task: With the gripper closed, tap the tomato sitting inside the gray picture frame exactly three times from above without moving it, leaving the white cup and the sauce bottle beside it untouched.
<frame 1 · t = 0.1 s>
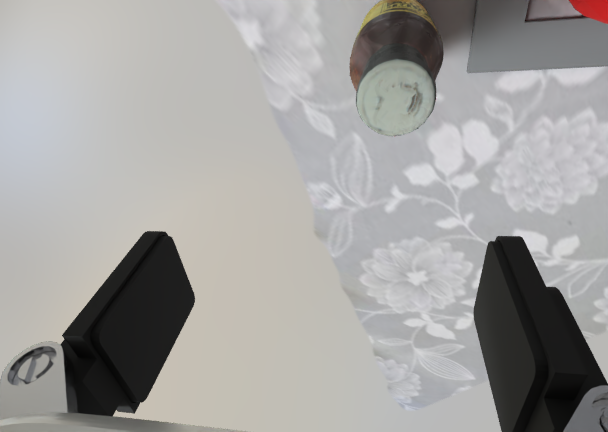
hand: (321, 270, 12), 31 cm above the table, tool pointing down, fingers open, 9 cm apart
sauce bottle: (392, 30, 36), on the table
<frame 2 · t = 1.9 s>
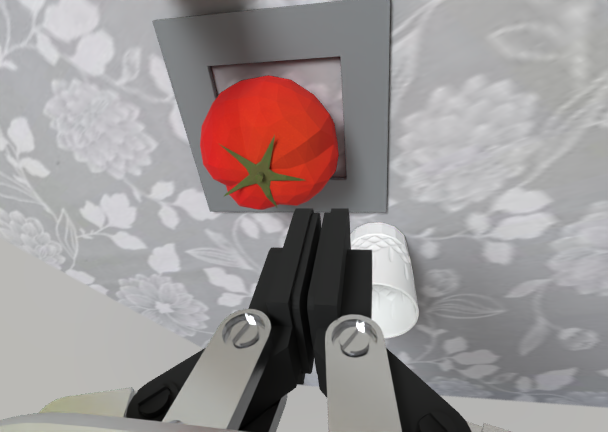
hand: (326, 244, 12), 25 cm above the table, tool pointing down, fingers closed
tomato: (283, 123, 37), resting in gray picture frame
gray picture frame: (282, 124, 37), on the table
white cup: (376, 243, 44), on the table
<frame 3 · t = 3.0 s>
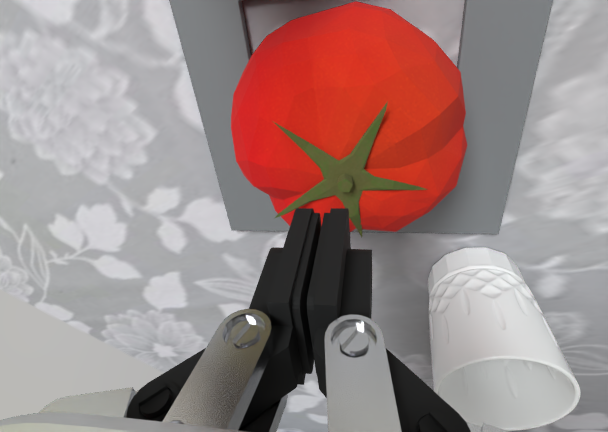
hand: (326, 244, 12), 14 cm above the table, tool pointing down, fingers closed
tomato: (352, 97, 24), resting in gray picture frame
gray picture frame: (352, 99, 24), on the table
white cup: (471, 276, 31), on the table
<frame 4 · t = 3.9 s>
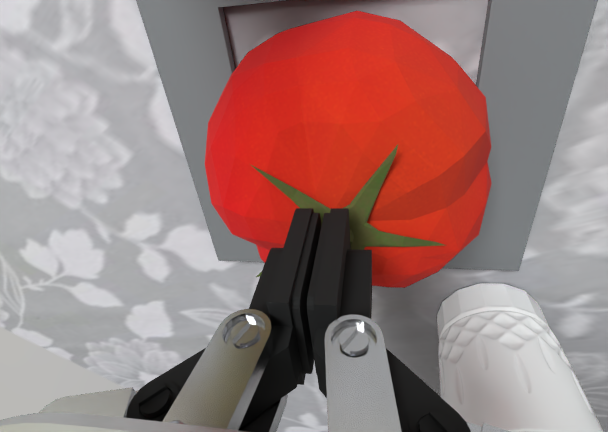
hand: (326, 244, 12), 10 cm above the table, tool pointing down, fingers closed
tomato: (352, 118, 21), resting in gray picture frame, touching gripper
gray picture frame: (352, 120, 21), on the table
white cup: (485, 312, 28), on the table
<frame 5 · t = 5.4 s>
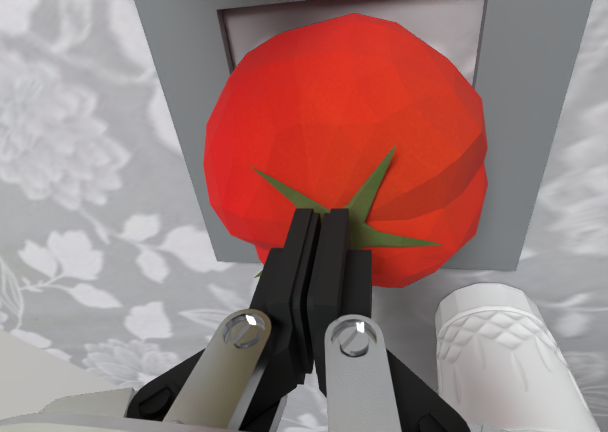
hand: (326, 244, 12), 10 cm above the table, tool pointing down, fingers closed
tomato: (350, 120, 21), resting in gray picture frame
gray picture frame: (350, 121, 21), on the table
white cup: (483, 312, 28), on the table
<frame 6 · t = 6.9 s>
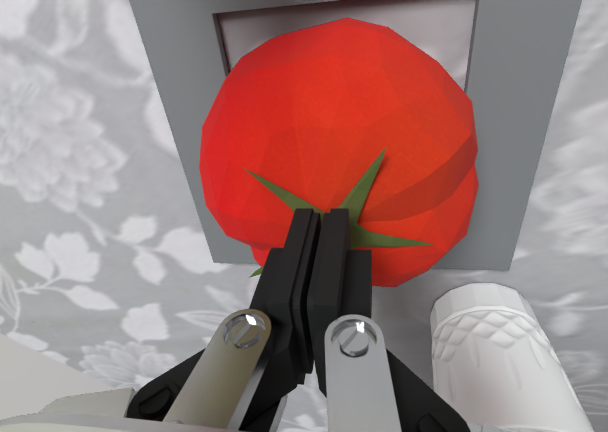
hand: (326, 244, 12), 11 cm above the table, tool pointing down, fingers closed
tomato: (345, 121, 21), resting in gray picture frame
gray picture frame: (344, 123, 21), on the table
white cup: (477, 312, 28), on the table
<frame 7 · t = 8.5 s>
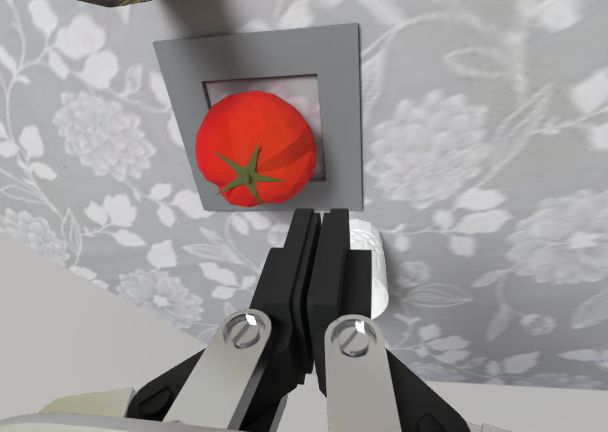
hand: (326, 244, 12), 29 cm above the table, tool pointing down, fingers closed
tomato: (268, 131, 42), resting in gray picture frame
gray picture frame: (268, 131, 42), on the table
white cup: (355, 238, 49), on the table
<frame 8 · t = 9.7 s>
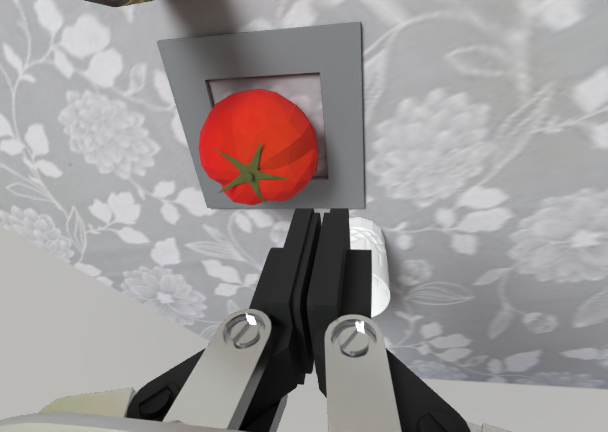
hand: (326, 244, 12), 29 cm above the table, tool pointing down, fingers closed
tomato: (271, 129, 42), resting in gray picture frame
gray picture frame: (271, 130, 42), on the table
white cup: (357, 236, 49), on the table
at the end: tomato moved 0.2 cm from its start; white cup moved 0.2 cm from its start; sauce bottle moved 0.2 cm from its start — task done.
